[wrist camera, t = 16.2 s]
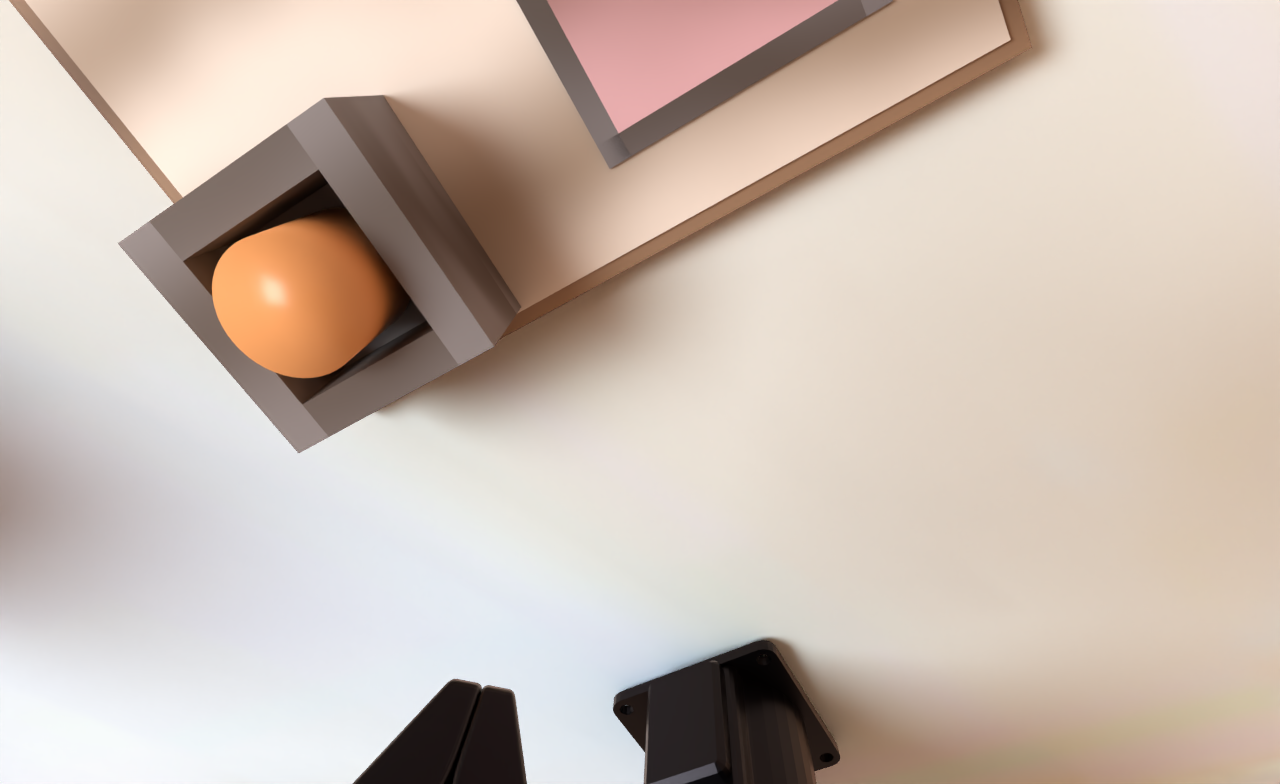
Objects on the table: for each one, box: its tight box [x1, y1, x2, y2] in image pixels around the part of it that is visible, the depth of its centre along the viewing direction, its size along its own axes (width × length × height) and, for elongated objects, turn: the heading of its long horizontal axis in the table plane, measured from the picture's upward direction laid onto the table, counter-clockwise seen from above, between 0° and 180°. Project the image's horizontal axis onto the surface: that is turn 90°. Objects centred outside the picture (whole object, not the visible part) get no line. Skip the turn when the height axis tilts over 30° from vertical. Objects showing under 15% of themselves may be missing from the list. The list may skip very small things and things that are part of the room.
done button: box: [212, 208, 410, 378], centre depth 16 cm, size 3×3×3 cm
